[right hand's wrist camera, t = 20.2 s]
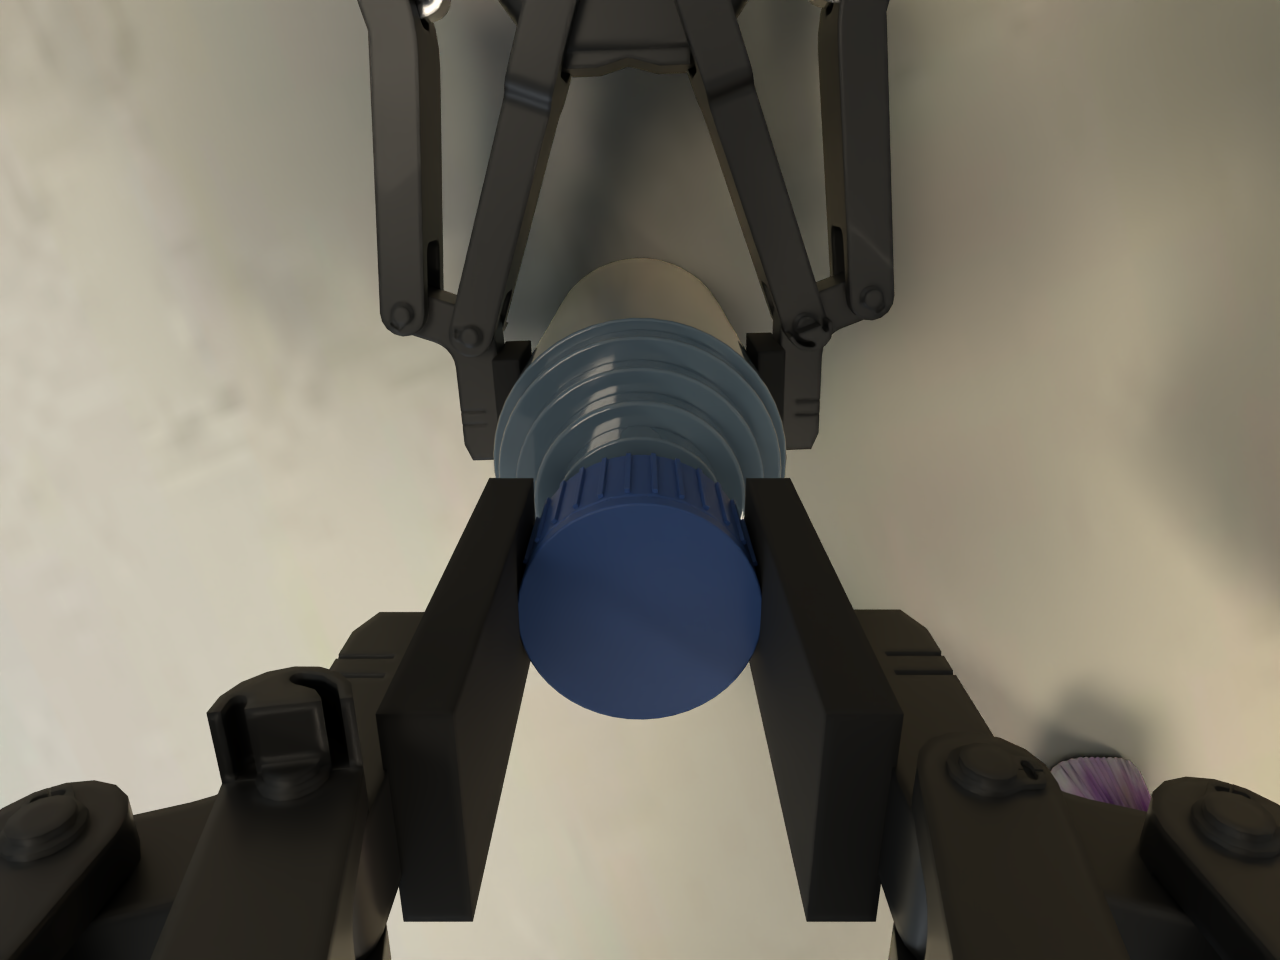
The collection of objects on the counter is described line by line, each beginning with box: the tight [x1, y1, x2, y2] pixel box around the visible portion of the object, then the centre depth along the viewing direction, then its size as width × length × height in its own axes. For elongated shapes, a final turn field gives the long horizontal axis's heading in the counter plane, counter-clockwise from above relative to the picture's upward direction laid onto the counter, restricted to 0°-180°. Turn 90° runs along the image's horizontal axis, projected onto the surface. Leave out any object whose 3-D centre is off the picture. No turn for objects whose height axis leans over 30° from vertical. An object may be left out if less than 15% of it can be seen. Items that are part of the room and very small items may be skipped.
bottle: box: [494, 258, 786, 520], centre depth 22 cm, size 7×7×19 cm
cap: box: [518, 453, 762, 719], centre depth 13 cm, size 4×4×2 cm
